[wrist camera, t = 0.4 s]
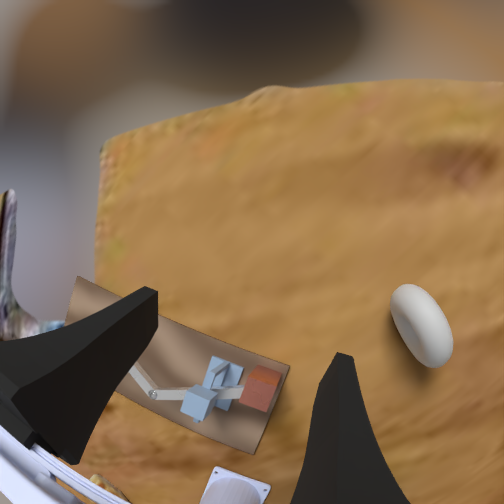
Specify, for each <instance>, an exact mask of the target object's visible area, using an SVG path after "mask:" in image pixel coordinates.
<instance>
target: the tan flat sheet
mask: <svg viewBox="0 0 504 504" xmlns="http://www.w3.org/2000/svg"><path fill="white" fill-rule="evenodd" d="M121 299H122V297H120V296H118V295H116V294H114V293H112V292H110V291H108V290H105V289H103V288H101V287H99V286H97V285H95V284H94V283H92V282H90V281H87V280H86V279H83V278H82V277H80V276H77V278H76V283H75V286H74V289H73V293H72V297H71V301H70V304H69V308H68V312H67V316H66V320H65V325H64V326H67V325H70V324H72V323H74V322H77V321H79V320H81V319H83V318H86V317H88V316H90V315H92V314H94V313H96V312H98V311H100V310H102V309H104V308H106V307H108V306H109V305H111V304H113V303H115V302H117V301H119V300H121ZM213 355H214V356H216V357H219V358H221V359H224V360H226V361H229V362H231V363H234V364H236V365H239V366H242V367H244V369H243V372H242V375H241V377H240V380H239V383H238V385H245V383H246V381H247V378H248V376H249V375H250V373H251V372H252V371H253V370H254V369H255V367H256V366H257V365H261V366H264V367H267V368H269V369H272V370H275V371H278V372H281V373H282V374H281V376H280V379H279V382H278V384H277V387H276V389H275V392H274V394H273V397H272V399H271V402H270V404H269V407H268V409H267V412H264V411H261V410H258V409H256V408H253V407H250V406H248V405H245V404H242V403H240V402H239V399H240V398H239V399H232V402H231V404H230V407H229V410H228V411H226V410H223V409H221V408H218V407H216V406H214V407H213V409H212V411H211V413H210V414H209V415H208V416H207V417H206V418H205V419H204V420H203V421H200V422H199V423H196V422H193V419H194V417H191V416H189V415H187V414H185V413H183V412H181V411H180V410H181V407H182V404H183V401H184V400H153V399H151V398H150V397H149V396H148V395H147V394H146V393H145V391H144V390H143V389H142V388H141V387H140V385H139V384H138V383H137V382H136V381H135V379H134V378H133V377H132V376H131V374H130V373H129V372H128V373H127V374H126V376H125V377H124V378H123V380H122V381H121V382H120V384H119V385H118V386H117V388H116V389H115V391H117V392H119V393H120V394H122V395H124V396H126V397H127V398H129V399H131V400H133V401H135V402H136V403H138V404H140V405H142V406H144V407H146V408H148V409H149V410H151V411H153V412H155V413H157V414H159V415H161V416H163V417H165V418H167V419H169V420H171V421H173V422H175V423H177V424H180V425H182V426H184V427H186V428H188V429H190V430H193V431H195V432H197V433H199V434H202V435H204V436H206V437H209V438H211V439H213V440H216V441H218V442H221V443H223V444H226V445H228V446H231V447H233V448H236V449H239V450H241V451H244V452H247V453H249V454H252V455H253V454H254V452H255V450H256V447H257V445H258V443H259V440H260V438H261V436H262V434H263V431H264V429H265V426H266V424H267V422H268V419H269V417H270V415H271V412H272V410H273V407H274V405H275V402H276V400H277V397H278V395H279V392H280V390H281V387H282V385H283V382H284V380H285V377H286V374H287V372H288V369H289V367H290V366H289V365H286V364H283V363H280V362H278V361H275V360H272V359H269V358H266V357H263V356H261V355H258V354H255V353H252V352H250V351H247V350H244V349H242V348H239V347H236V346H234V345H231V344H229V343H226V342H223V341H221V340H218V339H216V338H213V337H211V336H208V335H206V334H203V333H201V332H198V331H196V330H194V329H191V328H189V327H186V326H184V325H182V324H179V323H177V322H175V321H172V320H170V319H168V318H166V317H163V316H161V315H159V314H158V329H157V331H156V332H155V334H154V336H153V338H152V340H151V341H150V343H149V345H148V346H147V348H146V349H145V351H144V352H143V353H142V355H141V356H140V357H139V359H138V360H137V362H138V363H139V365H140V366H141V367H142V368H143V369H144V371H145V372H146V373H147V374H148V375H149V377H150V378H151V379H152V380H153V381H154V383H155V384H156V385H157V386H158V387H159V388H181V387H193V386H194V385H196V384H198V385H200V386H202V384H203V381H204V378H205V375H206V373H207V370H208V367H209V364H210V361H211V358H212V356H213Z"/></svg>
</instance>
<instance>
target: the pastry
mask: <svg viewBox="0 0 504 504" xmlns="http://www.w3.org/2000/svg"><path fill="white" fill-rule="evenodd" d="M89 481H91V482H93V483H94V484H96V485H98V486H99V487H101V488H103V489H105V490H106V491H108V492H110V493H112V494H113V495H115V496H117V497H119V498H121V499H123V500H125V501H127V502H128V503H130V502H129V501H128V500H127V498H126V497H125V496H124V495H123V493H122V492H121V491H120V490H118V489H117V488H116V487H115V486H114V485H112V484H111V483H110V482H109V481H108V480H106V479H105V478H104V477H102V476H101V475H98V474H94V475H93V476H92V477H91V478H90V480H89ZM83 496H84V495H83ZM84 497H85V496H84ZM86 498H87V497H86ZM89 500H90V499H89ZM90 501H91V502H92V503H93V504H97V503H95V502H93V501H92V500H90ZM130 504H131V503H130Z"/></svg>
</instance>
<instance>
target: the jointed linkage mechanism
mask: <svg viewBox="0 0 504 504" xmlns="http://www.w3.org/2000/svg"><path fill="white" fill-rule="evenodd" d="M129 373H130V374H131V376H132V377H133V378H134V379H135V381H136V382H137V383H138V384H139V385H140V387H141V388H142V389H143V390H144V391H145V393H146V394H147V395H148V396H149V397H150V398H151V399H153V400H184V397H185V394H186V391H187V390H188V389H190V388H191V387H181V388H159V387H158V386H157V385H156V384H155V383H154V381H153V380H152V379H151V378H150V377H149V375H148V374H147V373H146V372H145V371H144V369H143V368H142V367H141V366H140V365H139V363H138V362H137V361H136V363H135V364H134V365H133V366H132V368H131V369H130V370H129ZM281 374H282V373H281V372H278V371H275V370H272V369H269V368H267V367H264V366H261V365H257V366H256V367H255V369H254V370H253V371H252V372H251V373H250V375H249V376H248V378H247V381H246V383H245V385H234V386H215V387H212V388H211V390H212V391H214V392H217V393H218V394H217V397H216V400H217V399H239V398H240V399H239V402H240V403H242V404H245V405H248V406H250V407H253V408H256V409H258V410H261V411H264V412H267V409H268V407H269V404H270V402H271V399H272V397H273V394H274V392H275V389H276V387H277V384H278V382H279V379H280V376H281Z"/></svg>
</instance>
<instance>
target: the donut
mask: <svg viewBox="0 0 504 504" xmlns="http://www.w3.org/2000/svg"><path fill="white" fill-rule="evenodd" d="M390 309H391V313H392V317H393V320H394V322H395V325H396V327H397V329H398V331H399V333H400V335H401V337H402V339H403V340H404V342H405V344H406V345H407V347H408V348H409V350H410V351H411V352H412V354H413V355H414V356H415V357H416V359H417V360H418V361H419V362H421V363H422V364H423V365H425V366H426V367H431V368H438V367H441V366H443V365H444V364H445V363H446V362H447V361H448V360H449V359H450V357H451V355H452V351H453V338H452V333H451V329H450V327H449V324H448V321H447V319H446V317H445V315H444V314H443V312H442V310H441V308H440V307H439V306H438V304H437V303H436V301H435V300H434V299H433V298H432V297H431V296H430V295H429V294H428V293H427V292H426V291H425V290H423V289H422V288H420V287H419V286H416V285H412V284H404V285H401V286H400V287H398V288H397V289H396V290H395V291H394V292H393V294H392V296H391V300H390Z"/></svg>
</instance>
